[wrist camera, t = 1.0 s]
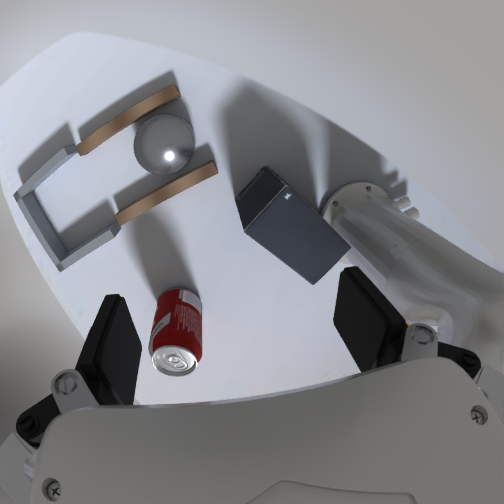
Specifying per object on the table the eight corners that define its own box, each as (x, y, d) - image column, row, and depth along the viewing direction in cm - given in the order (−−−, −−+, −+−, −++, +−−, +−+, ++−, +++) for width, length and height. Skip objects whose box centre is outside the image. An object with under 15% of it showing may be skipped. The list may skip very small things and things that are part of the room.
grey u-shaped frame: (74, 144, 28) (63, 147, 25) (121, 228, 34) (114, 237, 31) (24, 189, 29) (13, 194, 26) (68, 262, 35) (60, 272, 32)
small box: (231, 202, 35) (239, 233, 26) (265, 163, 33) (287, 180, 24) (288, 248, 39) (312, 289, 30) (320, 214, 38) (354, 246, 28)
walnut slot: (175, 86, 27) (173, 83, 26) (217, 170, 33) (218, 173, 31) (81, 144, 28) (75, 146, 27) (124, 220, 34) (119, 226, 32)
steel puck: (180, 105, 29) (177, 103, 26) (205, 154, 32) (204, 156, 29) (130, 133, 29) (123, 134, 27) (155, 180, 32) (151, 185, 30)
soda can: (185, 277, 39) (180, 335, 28) (210, 309, 42) (213, 369, 31) (149, 297, 39) (135, 354, 29) (175, 326, 42) (169, 385, 32)
